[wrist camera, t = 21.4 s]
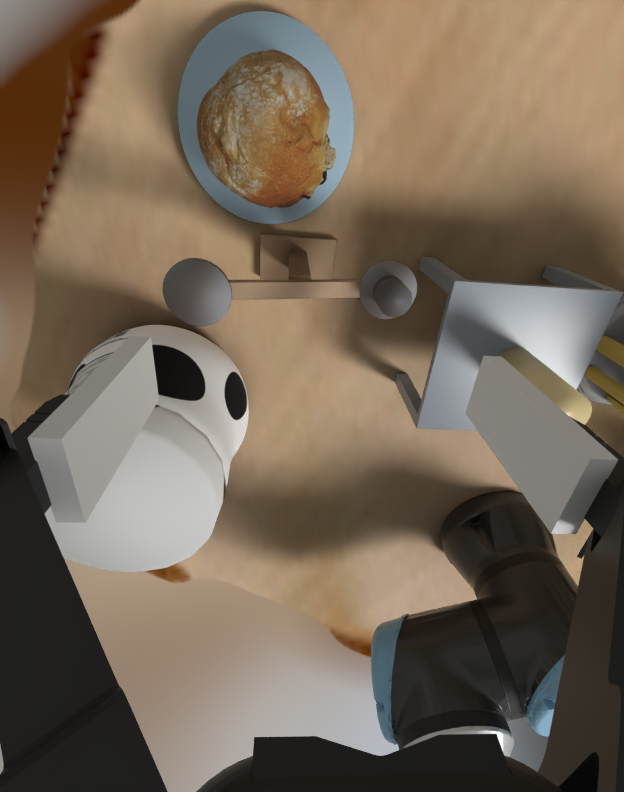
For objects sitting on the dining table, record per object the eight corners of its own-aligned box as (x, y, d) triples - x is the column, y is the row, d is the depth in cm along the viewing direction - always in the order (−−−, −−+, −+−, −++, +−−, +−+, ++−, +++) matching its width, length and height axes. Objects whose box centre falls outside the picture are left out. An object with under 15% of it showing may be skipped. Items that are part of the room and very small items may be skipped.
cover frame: (557, 266, 40) (715, 328, 25) (511, 387, 47) (612, 491, 32) (421, 256, 38) (502, 315, 24) (395, 382, 46) (444, 488, 31)
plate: (363, 27, 30) (366, 22, 29) (342, 227, 37) (343, 229, 36) (172, 5, 29) (168, -1, 27) (188, 216, 36) (185, 217, 35)
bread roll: (283, 55, 32) (241, -23, 24) (367, 149, 32) (350, 99, 24) (208, 156, 35) (150, 114, 28) (283, 241, 35) (246, 223, 28)
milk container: (220, 465, 51) (190, 599, 35) (79, 418, 46) (-27, 548, 31) (276, 355, 43) (269, 463, 28) (114, 284, 38) (-4, 368, 23)
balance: (393, 240, 38) (438, 276, 26) (385, 287, 40) (423, 338, 28) (200, 226, 36) (158, 257, 25) (203, 275, 38) (166, 324, 27)
